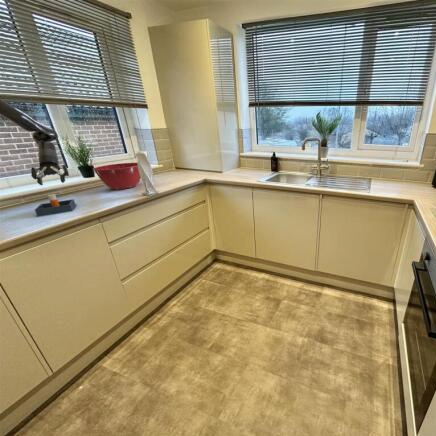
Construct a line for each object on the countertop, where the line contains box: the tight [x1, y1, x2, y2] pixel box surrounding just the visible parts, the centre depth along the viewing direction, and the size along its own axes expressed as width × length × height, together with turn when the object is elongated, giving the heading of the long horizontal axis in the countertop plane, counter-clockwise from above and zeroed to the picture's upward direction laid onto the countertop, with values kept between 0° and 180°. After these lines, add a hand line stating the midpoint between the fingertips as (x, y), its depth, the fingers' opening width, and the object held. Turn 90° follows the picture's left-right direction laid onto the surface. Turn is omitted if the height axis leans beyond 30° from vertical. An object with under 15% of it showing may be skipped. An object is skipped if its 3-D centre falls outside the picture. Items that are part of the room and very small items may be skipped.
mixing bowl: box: [92, 162, 141, 191], centre depth 168 cm, size 28×28×16 cm
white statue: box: [133, 148, 160, 197], centre depth 148 cm, size 8×8×28 cm
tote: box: [34, 199, 77, 217], centre depth 124 cm, size 13×11×4 cm
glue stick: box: [46, 193, 60, 207], centre depth 123 cm, size 3×3×8 cm
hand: (51, 183), depth 126 cm, fingers open, 8 cm apart
